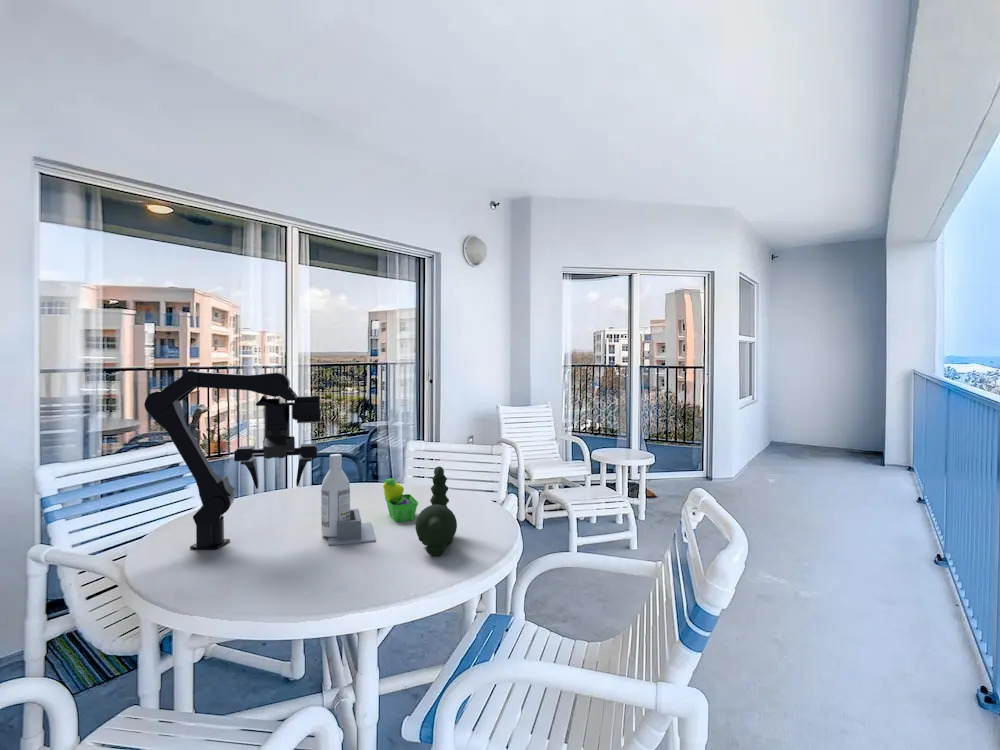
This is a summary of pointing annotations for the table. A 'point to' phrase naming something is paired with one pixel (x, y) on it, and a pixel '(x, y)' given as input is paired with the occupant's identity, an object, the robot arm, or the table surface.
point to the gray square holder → (352, 531)
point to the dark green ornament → (437, 518)
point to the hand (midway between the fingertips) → (277, 487)
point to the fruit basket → (399, 501)
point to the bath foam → (334, 497)
